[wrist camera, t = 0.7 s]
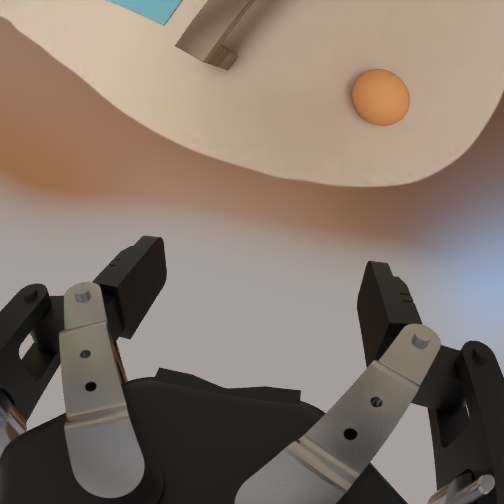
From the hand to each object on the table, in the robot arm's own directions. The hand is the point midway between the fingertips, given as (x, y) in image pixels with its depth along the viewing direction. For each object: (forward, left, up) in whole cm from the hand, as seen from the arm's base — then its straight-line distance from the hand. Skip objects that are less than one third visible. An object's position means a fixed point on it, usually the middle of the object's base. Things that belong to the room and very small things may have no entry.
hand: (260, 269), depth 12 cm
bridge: (-11, -12, -25) cm, 30 cm away
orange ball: (-11, +4, -22) cm, 25 cm away
